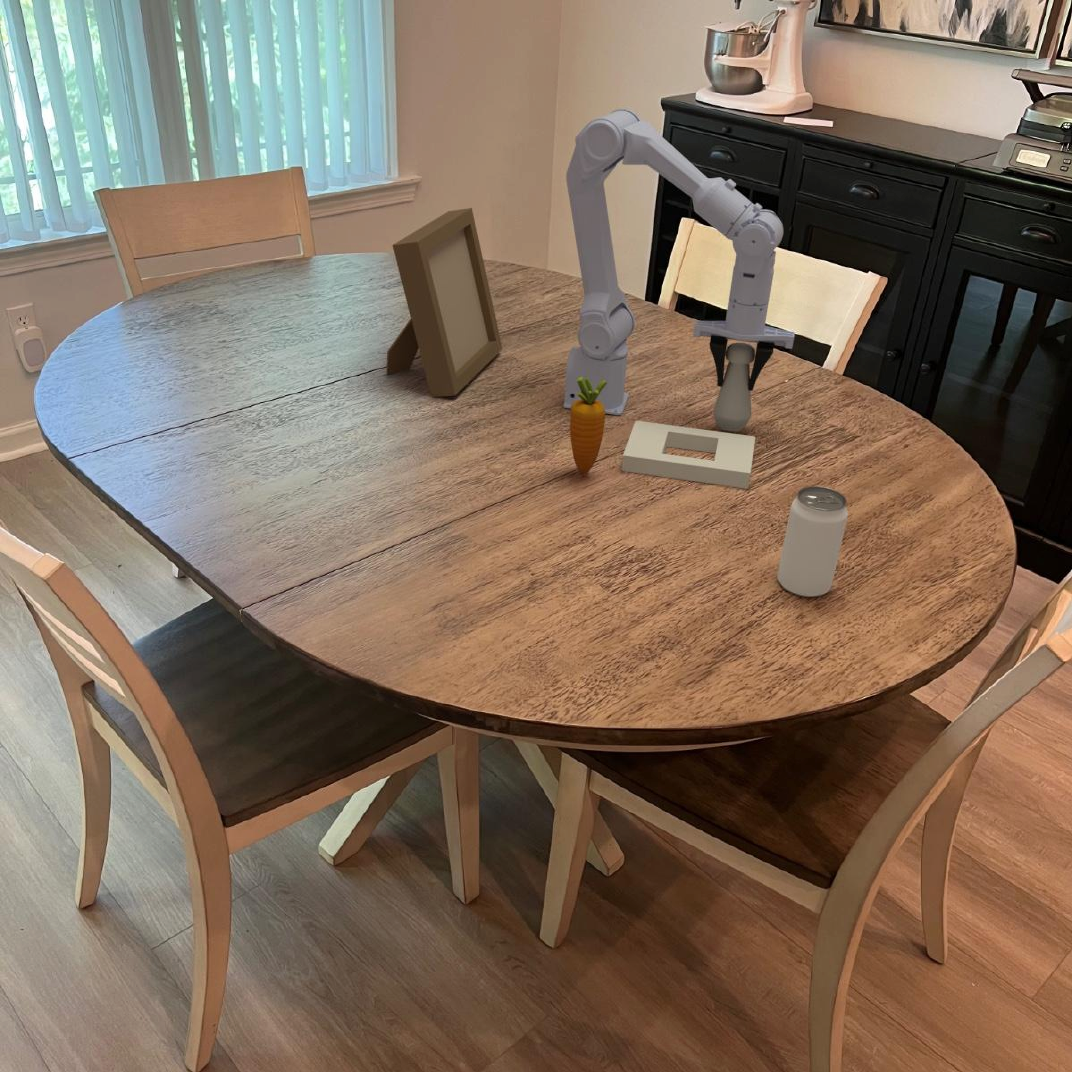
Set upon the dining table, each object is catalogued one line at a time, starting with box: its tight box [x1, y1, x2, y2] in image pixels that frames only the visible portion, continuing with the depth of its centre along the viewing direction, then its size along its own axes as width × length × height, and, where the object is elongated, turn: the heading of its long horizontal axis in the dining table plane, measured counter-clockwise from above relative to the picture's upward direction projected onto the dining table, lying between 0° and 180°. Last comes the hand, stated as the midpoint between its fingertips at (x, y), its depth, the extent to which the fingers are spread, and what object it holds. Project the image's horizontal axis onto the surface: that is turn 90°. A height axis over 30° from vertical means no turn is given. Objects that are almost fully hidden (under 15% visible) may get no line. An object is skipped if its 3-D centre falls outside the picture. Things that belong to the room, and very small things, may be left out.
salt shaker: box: [713, 342, 756, 432], centre depth 156 cm, size 6×6×13 cm
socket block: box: [621, 420, 756, 490], centre depth 151 cm, size 18×12×2 cm, turn 77°
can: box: [777, 485, 848, 598], centre depth 122 cm, size 6×6×12 cm
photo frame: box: [385, 207, 503, 398], centre depth 170 cm, size 15×22×25 cm
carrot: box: [569, 377, 607, 477], centre depth 142 cm, size 5×5×15 cm
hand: (735, 386), depth 156 cm, fingers closed on salt shaker, 4 cm apart
